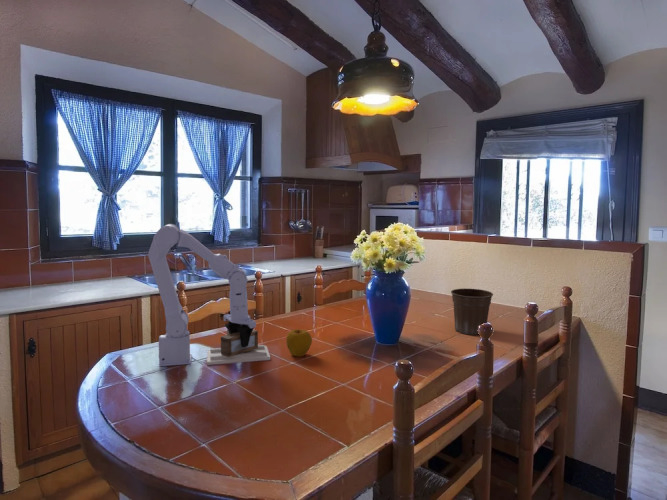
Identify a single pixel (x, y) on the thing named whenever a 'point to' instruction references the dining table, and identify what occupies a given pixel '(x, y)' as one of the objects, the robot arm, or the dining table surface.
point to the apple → (298, 342)
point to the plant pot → (470, 309)
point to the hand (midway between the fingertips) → (240, 344)
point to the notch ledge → (237, 356)
